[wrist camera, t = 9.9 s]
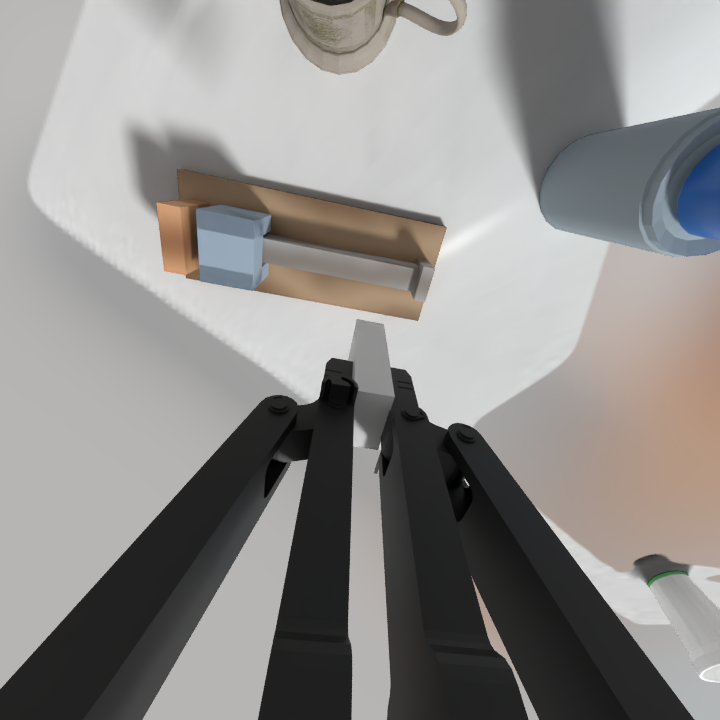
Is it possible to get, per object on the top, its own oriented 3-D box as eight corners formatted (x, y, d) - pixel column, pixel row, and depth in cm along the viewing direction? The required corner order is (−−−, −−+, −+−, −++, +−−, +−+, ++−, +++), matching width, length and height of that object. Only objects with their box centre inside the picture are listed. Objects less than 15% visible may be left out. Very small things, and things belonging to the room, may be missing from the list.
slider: (222, 204, 32) (195, 208, 27) (271, 214, 33) (254, 220, 27) (223, 266, 35) (200, 281, 30) (268, 275, 36) (252, 290, 30)
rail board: (181, 169, 32) (139, 166, 26) (444, 226, 34) (462, 235, 28) (190, 275, 37) (156, 294, 31) (416, 317, 40) (426, 342, 34)
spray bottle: (650, 158, 31) (1309, 102, 10) (587, 244, 35) (948, 342, 14) (579, 115, 30) (1184, -68, 8) (522, 211, 34) (815, 264, 12)
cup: (629, 594, 75) (687, 683, 62) (651, 566, 69) (721, 658, 56) (682, 593, 75) (751, 682, 62) (708, 565, 69) (792, 657, 55)
